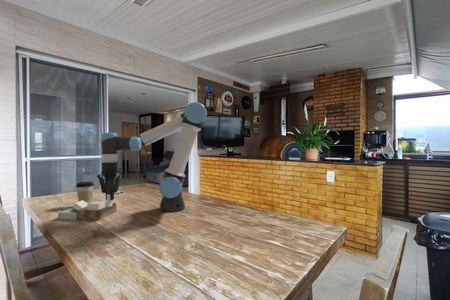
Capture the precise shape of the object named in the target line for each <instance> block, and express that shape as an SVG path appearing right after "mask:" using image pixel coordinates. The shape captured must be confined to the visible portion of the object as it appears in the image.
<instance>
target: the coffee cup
mask: <svg viewBox="0 0 450 300" xmlns="http://www.w3.org/2000/svg"><path fill="white" fill-rule="evenodd" d="M94 186H95V184H94V182H93V181H80V182H77V183H76V185H75V188H76V193H77V199H78V201H77V202H79V201H82V200H83V201H85V202H86V203H87V204H89V203H92V200H93V195H94V193H93V192H94Z"/></svg>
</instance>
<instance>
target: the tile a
mask: <svg viewBox="0 0 450 300" xmlns="http://www.w3.org/2000/svg"><path fill="white" fill-rule="evenodd" d="M86 206H87V203H86V202H85V201H83V200H82V201H77V202H74V204H73V206H72V208H74V209H76V210H79V209H81V208H84V207H86Z"/></svg>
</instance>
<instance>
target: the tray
mask: <svg viewBox="0 0 450 300" xmlns="http://www.w3.org/2000/svg"><path fill="white" fill-rule="evenodd" d="M57 214H58V217H57V218H58V219H57V220H61V221H62V220H64V221H65V220H67V221H68V220H69V221H77V210H76V209H74V208H73V207H70V208H68V209H65V210H62V211H60V212H58V213H57Z"/></svg>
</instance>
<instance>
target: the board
mask: <svg viewBox="0 0 450 300" xmlns="http://www.w3.org/2000/svg"><path fill="white" fill-rule="evenodd" d="M116 212H117V202H113V205H112V206H110V207H107V202H105V207H104V208H102V209H100V210H87V206H86V207H84V208H81V209H79V210H77V220H79V221H81V220H82V221H100V220H102V219H105V218H107V217H108V216H110V215H112V214H113V213H116ZM77 220H76V221H77Z"/></svg>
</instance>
